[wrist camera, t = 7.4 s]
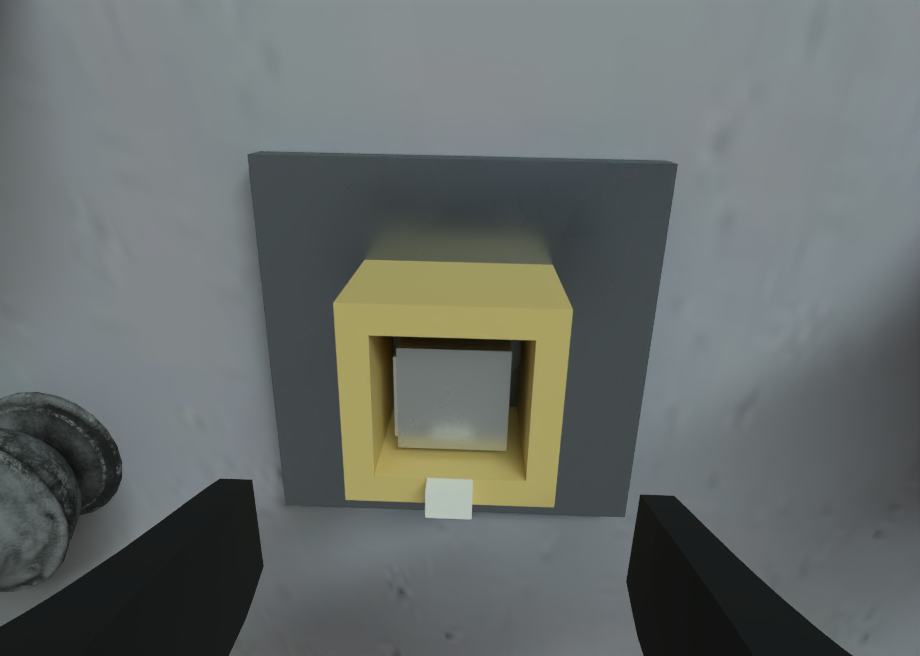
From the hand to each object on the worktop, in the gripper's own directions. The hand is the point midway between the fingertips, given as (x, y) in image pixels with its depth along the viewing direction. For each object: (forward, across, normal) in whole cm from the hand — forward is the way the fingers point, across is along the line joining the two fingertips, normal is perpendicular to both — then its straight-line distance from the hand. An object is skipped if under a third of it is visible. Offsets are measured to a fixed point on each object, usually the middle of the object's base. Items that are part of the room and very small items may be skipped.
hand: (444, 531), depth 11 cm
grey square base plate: (+9, 0, 0) cm, 9 cm away
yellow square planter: (+8, 0, 0) cm, 8 cm away
